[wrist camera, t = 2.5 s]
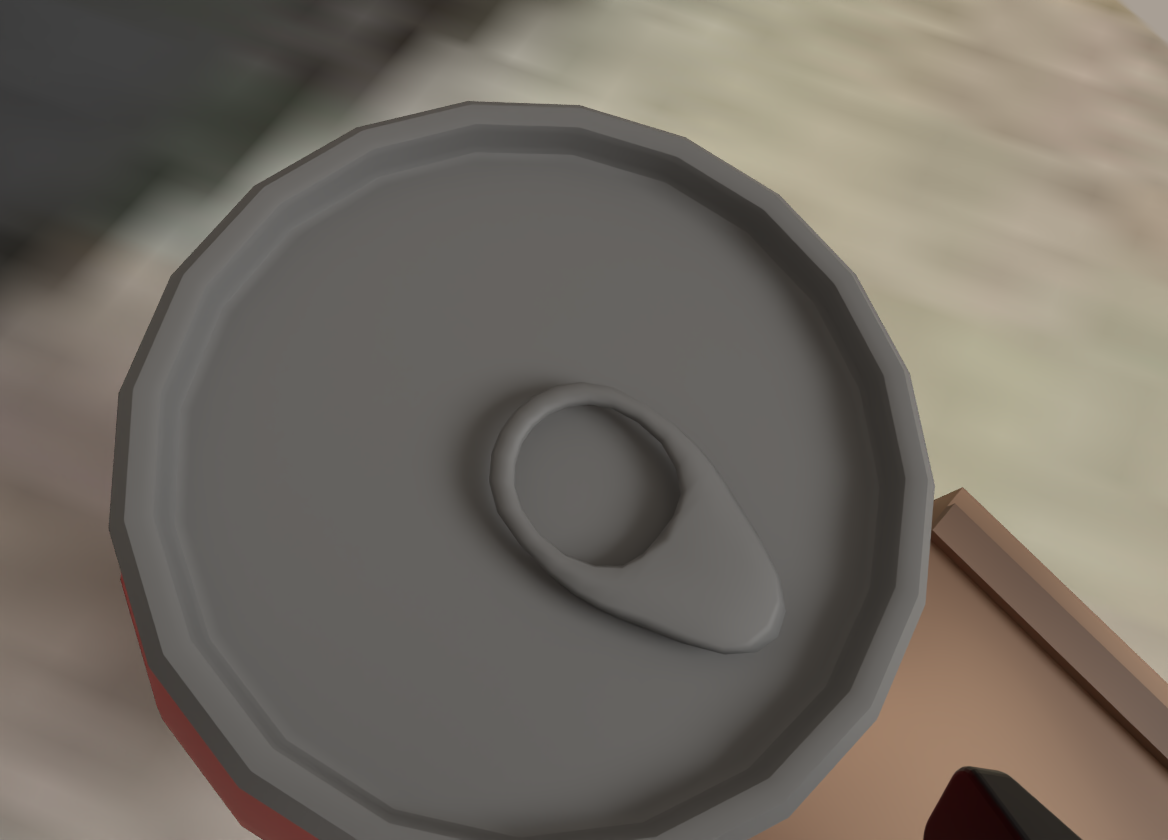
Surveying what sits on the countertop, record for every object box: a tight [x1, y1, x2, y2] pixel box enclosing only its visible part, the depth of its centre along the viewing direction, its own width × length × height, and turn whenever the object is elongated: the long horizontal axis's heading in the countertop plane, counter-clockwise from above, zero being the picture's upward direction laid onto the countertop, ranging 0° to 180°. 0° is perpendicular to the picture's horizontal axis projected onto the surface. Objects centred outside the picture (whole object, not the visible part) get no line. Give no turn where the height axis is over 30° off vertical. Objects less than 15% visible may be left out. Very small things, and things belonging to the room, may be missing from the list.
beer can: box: [109, 101, 935, 840], centre depth 12 cm, size 7×7×12 cm
